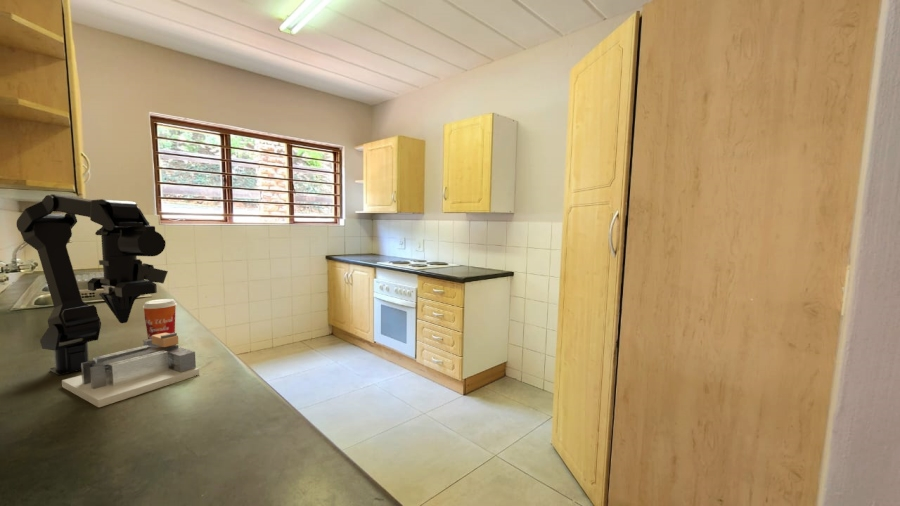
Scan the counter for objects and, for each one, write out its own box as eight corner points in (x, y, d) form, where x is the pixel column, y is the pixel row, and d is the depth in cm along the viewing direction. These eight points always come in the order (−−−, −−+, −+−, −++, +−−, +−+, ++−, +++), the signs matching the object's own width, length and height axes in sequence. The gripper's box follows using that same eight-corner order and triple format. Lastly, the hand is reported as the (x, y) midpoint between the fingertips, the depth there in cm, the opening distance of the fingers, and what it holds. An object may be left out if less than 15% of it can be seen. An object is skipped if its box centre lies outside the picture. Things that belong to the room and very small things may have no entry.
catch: (151, 343, 89) (151, 333, 89) (166, 340, 92) (165, 330, 92) (164, 347, 86) (163, 336, 86) (178, 343, 89) (177, 333, 89)
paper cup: (141, 355, 99) (138, 304, 98) (148, 347, 105) (146, 299, 104) (176, 351, 102) (174, 302, 101) (181, 343, 109) (179, 297, 108)
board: (62, 386, 79) (61, 380, 79) (159, 360, 95) (159, 355, 95) (98, 407, 70) (98, 400, 70) (199, 374, 86) (199, 368, 86)
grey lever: (92, 368, 77) (91, 364, 77) (172, 346, 91) (172, 343, 91) (98, 370, 76) (97, 367, 76) (178, 348, 89) (178, 345, 89)
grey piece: (72, 378, 80) (70, 356, 79) (159, 355, 94) (158, 336, 94) (106, 395, 72) (104, 371, 71) (195, 368, 86) (194, 347, 86)
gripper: (181, 254, 85) (184, 320, 86) (143, 252, 93) (146, 311, 95) (121, 258, 75) (125, 331, 76) (84, 254, 84) (89, 320, 85)
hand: (123, 322), depth 83 cm, fingers closed
